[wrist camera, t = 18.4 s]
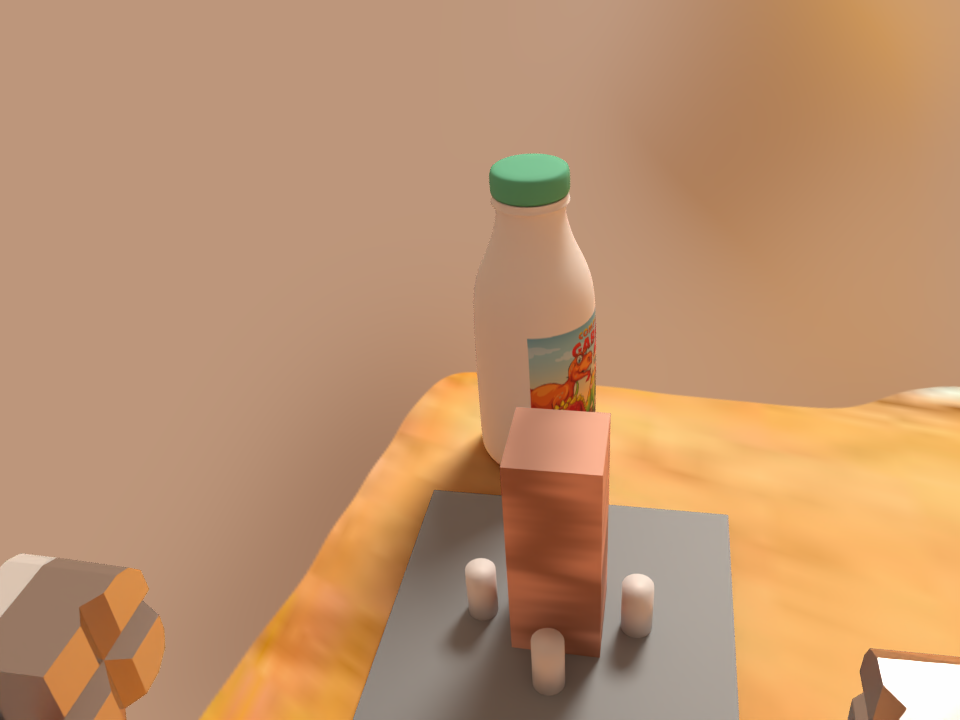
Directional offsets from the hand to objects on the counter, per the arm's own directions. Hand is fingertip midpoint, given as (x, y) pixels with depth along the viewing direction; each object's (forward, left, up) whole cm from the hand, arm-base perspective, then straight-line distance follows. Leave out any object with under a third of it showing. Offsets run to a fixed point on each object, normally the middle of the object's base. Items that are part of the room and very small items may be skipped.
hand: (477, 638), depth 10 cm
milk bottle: (+13, -39, -30) cm, 51 cm away
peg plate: (+7, -24, -30) cm, 39 cm away
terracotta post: (+7, -24, -29) cm, 38 cm away
